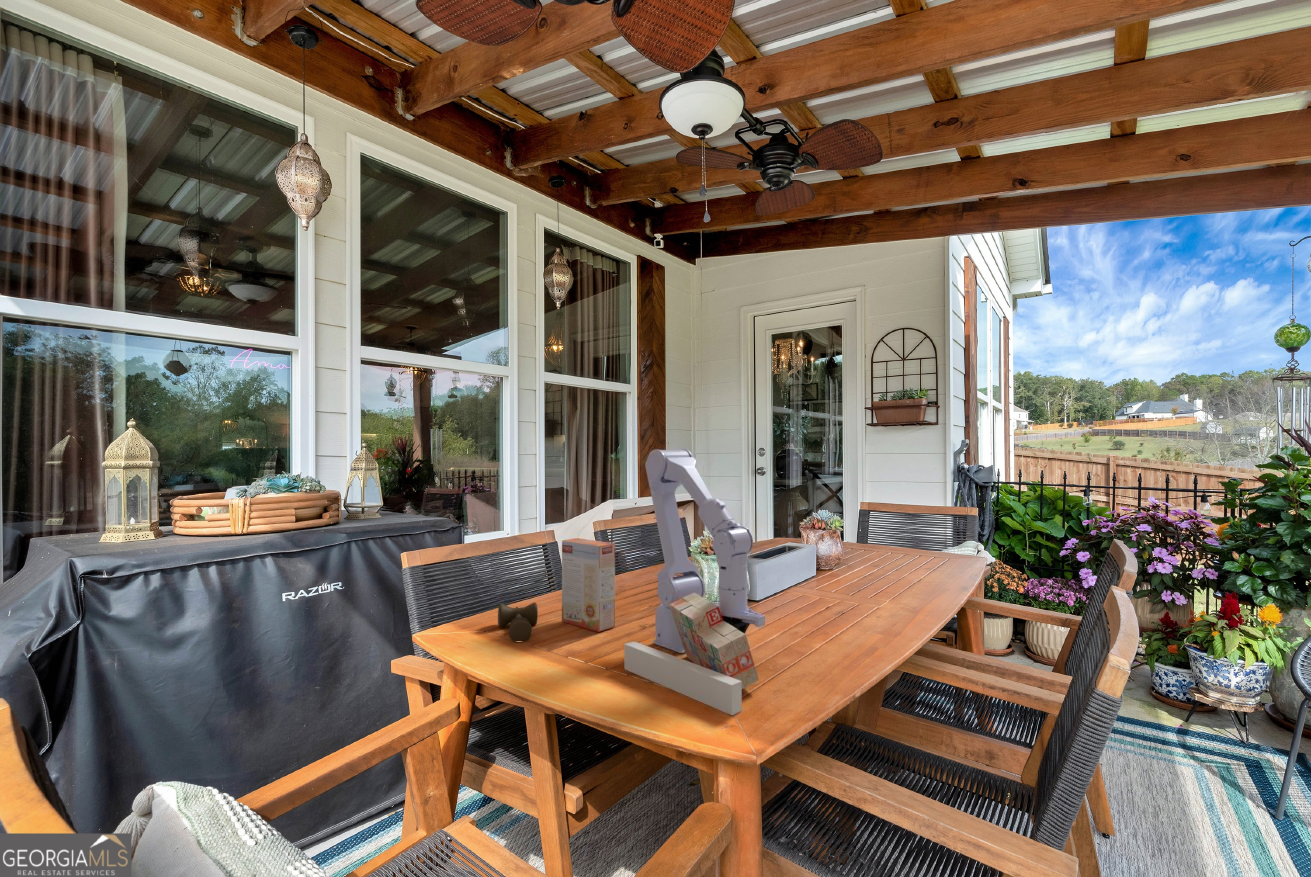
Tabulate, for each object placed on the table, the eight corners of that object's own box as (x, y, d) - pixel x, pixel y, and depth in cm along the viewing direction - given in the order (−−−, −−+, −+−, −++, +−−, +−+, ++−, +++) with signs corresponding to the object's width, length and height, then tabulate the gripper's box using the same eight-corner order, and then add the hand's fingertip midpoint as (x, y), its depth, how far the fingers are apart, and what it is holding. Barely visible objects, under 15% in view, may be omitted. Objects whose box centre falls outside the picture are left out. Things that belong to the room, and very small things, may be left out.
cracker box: (616, 627, 147) (616, 542, 147) (598, 633, 142) (598, 545, 142) (578, 616, 156) (578, 536, 156) (560, 621, 151) (560, 539, 152)
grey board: (624, 668, 119) (624, 643, 119) (633, 665, 121) (633, 641, 121) (732, 715, 99) (731, 685, 99) (741, 710, 100) (741, 681, 100)
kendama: (498, 647, 134) (497, 619, 153) (541, 644, 137) (535, 617, 156) (499, 620, 134) (497, 596, 153) (542, 618, 137) (535, 595, 156)
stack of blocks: (760, 680, 108) (741, 618, 107) (731, 696, 106) (711, 633, 105) (711, 643, 128) (694, 591, 127) (685, 656, 126) (668, 603, 125)
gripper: (774, 590, 118) (774, 658, 118) (718, 578, 129) (719, 641, 129) (752, 596, 113) (752, 668, 113) (696, 583, 124) (696, 649, 124)
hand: (733, 654), depth 121 cm, fingers closed
